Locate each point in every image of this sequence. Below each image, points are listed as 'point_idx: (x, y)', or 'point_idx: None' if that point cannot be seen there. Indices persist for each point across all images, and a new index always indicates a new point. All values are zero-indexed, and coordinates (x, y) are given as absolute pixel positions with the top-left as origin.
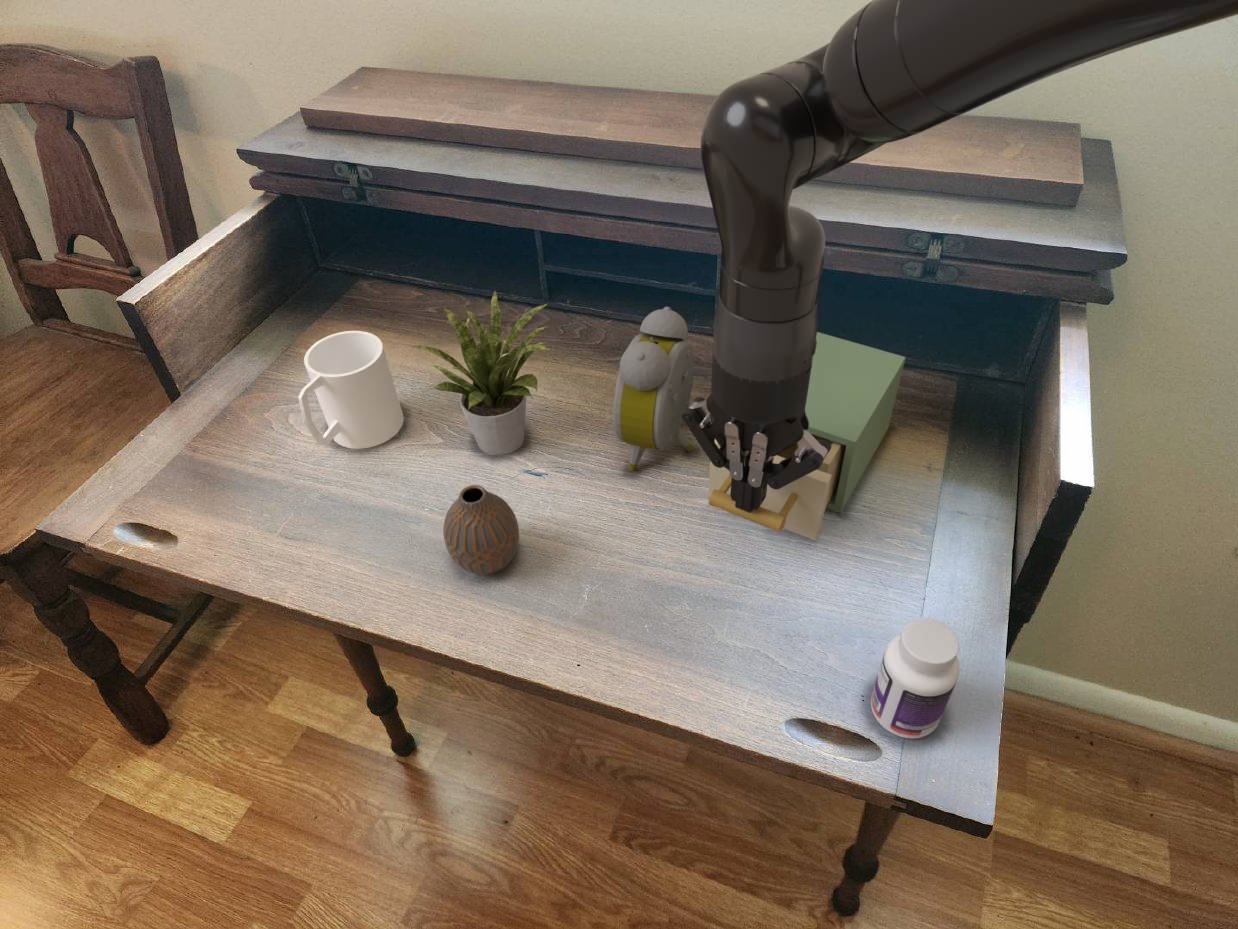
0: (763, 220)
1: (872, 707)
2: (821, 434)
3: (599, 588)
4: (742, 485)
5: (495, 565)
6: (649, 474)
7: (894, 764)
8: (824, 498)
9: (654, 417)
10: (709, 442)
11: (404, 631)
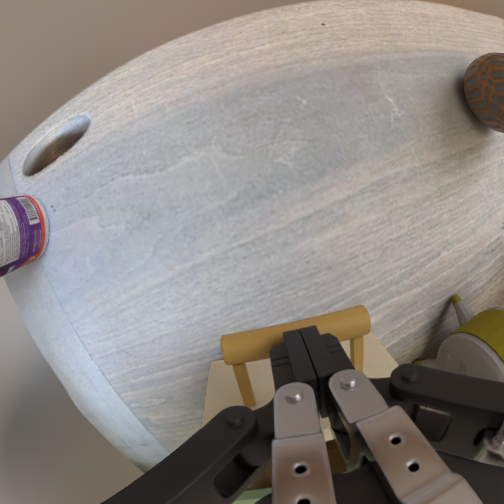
0: None
1: (36, 201)
2: (268, 492)
3: (387, 117)
4: (320, 369)
5: (470, 69)
6: (437, 306)
7: (14, 173)
8: (202, 420)
9: (497, 356)
10: (463, 402)
11: (447, 9)
